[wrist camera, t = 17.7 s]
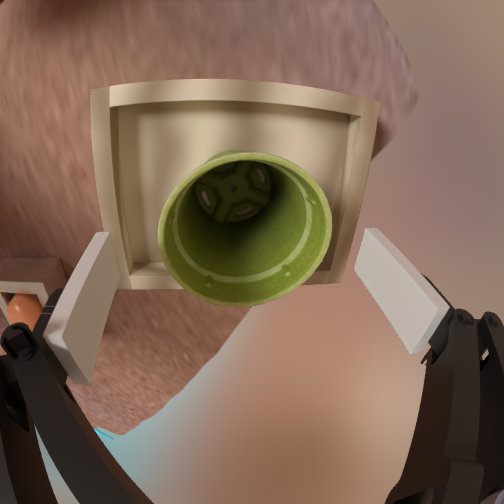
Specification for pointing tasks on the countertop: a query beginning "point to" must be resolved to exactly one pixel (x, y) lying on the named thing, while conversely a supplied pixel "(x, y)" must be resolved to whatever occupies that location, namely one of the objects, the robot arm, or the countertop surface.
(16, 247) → the countertop surface
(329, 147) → the tray
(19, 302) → the button
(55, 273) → the button housing
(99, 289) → the robot arm
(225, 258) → the plant pot
